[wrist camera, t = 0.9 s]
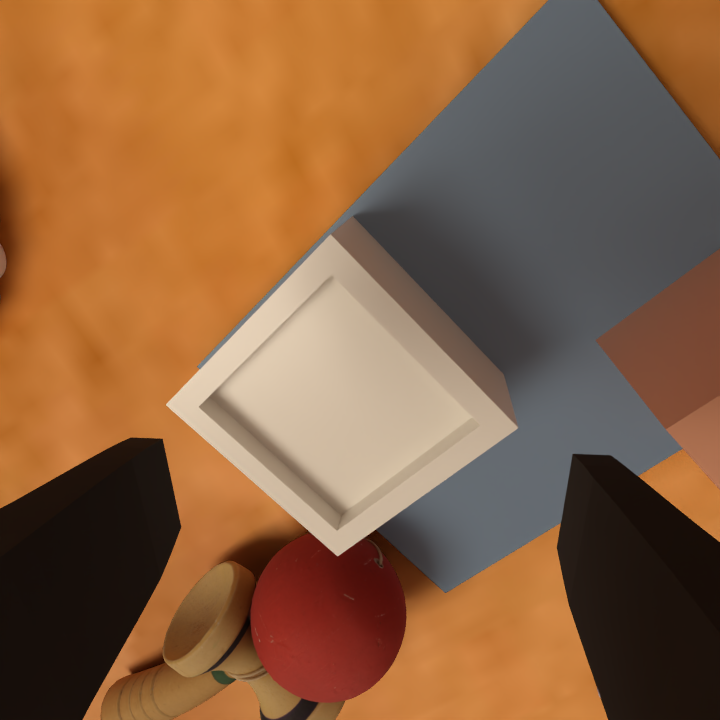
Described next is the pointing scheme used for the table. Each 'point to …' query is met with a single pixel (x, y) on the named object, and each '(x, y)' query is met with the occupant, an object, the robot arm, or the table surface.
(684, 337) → the terracotta block
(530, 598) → the table surface
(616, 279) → the mat
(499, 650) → the table surface
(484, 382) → the base block
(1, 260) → the mooncake
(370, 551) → the kendama
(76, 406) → the table surface
